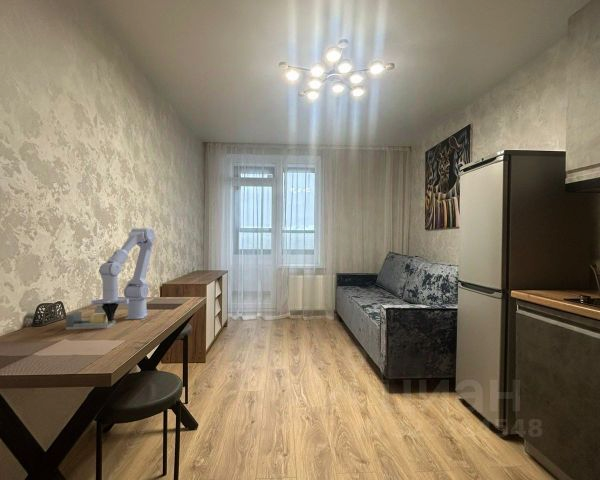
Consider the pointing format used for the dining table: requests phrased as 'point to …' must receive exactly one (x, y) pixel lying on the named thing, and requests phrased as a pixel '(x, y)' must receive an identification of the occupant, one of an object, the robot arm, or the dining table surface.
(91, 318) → the block
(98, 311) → the lighter
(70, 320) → the anvil
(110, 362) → the dining table surface
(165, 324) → the dining table surface
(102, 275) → the robot arm
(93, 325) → the grey flat tray
